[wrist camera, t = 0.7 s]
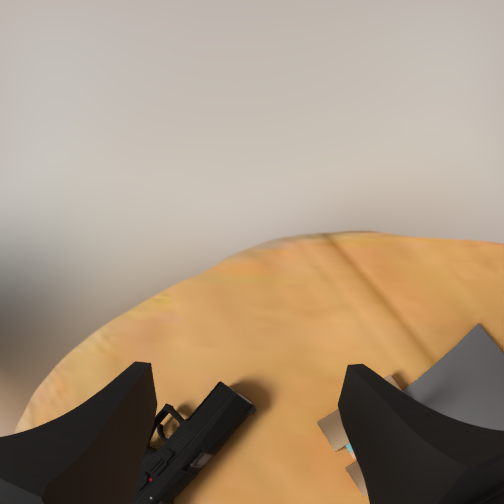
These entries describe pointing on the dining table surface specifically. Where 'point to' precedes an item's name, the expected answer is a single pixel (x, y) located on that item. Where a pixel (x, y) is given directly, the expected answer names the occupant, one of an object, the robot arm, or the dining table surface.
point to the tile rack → (345, 440)
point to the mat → (466, 382)
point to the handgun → (189, 444)
